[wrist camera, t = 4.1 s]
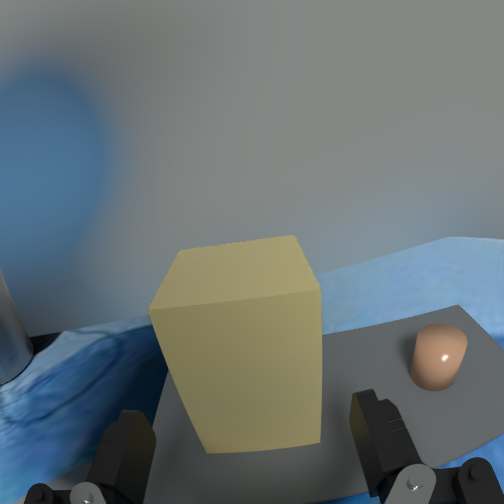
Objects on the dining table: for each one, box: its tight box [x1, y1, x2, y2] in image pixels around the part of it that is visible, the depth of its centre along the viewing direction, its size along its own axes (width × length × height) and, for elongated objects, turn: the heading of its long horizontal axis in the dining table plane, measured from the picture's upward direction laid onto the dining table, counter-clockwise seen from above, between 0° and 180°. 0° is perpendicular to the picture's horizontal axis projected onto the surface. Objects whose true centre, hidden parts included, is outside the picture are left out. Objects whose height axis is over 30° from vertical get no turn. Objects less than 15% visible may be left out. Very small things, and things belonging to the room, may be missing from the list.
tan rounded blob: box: [410, 323, 467, 391], centre depth 16 cm, size 4×4×3 cm
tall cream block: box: [148, 235, 322, 453], centre depth 15 cm, size 6×6×10 cm
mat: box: [143, 305, 504, 504], centre depth 17 cm, size 26×14×1 cm, turn 91°
